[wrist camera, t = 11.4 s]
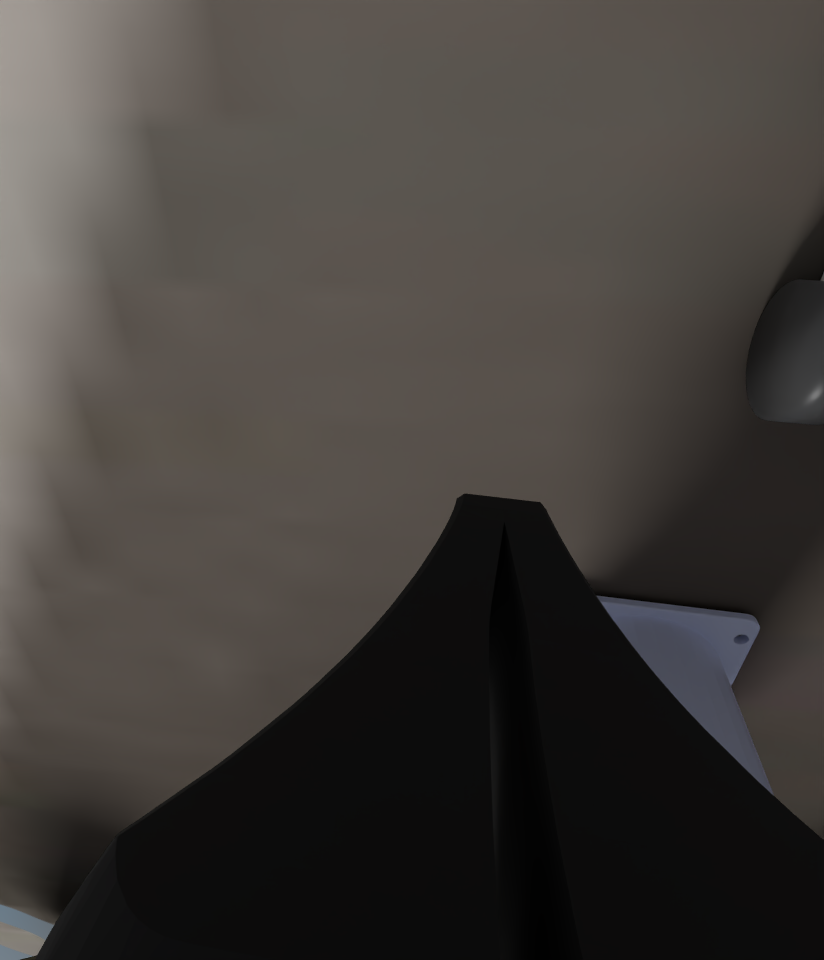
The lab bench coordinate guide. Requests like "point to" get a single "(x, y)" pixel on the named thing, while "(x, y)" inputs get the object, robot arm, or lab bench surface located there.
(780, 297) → the chassis
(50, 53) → the lab bench surface
